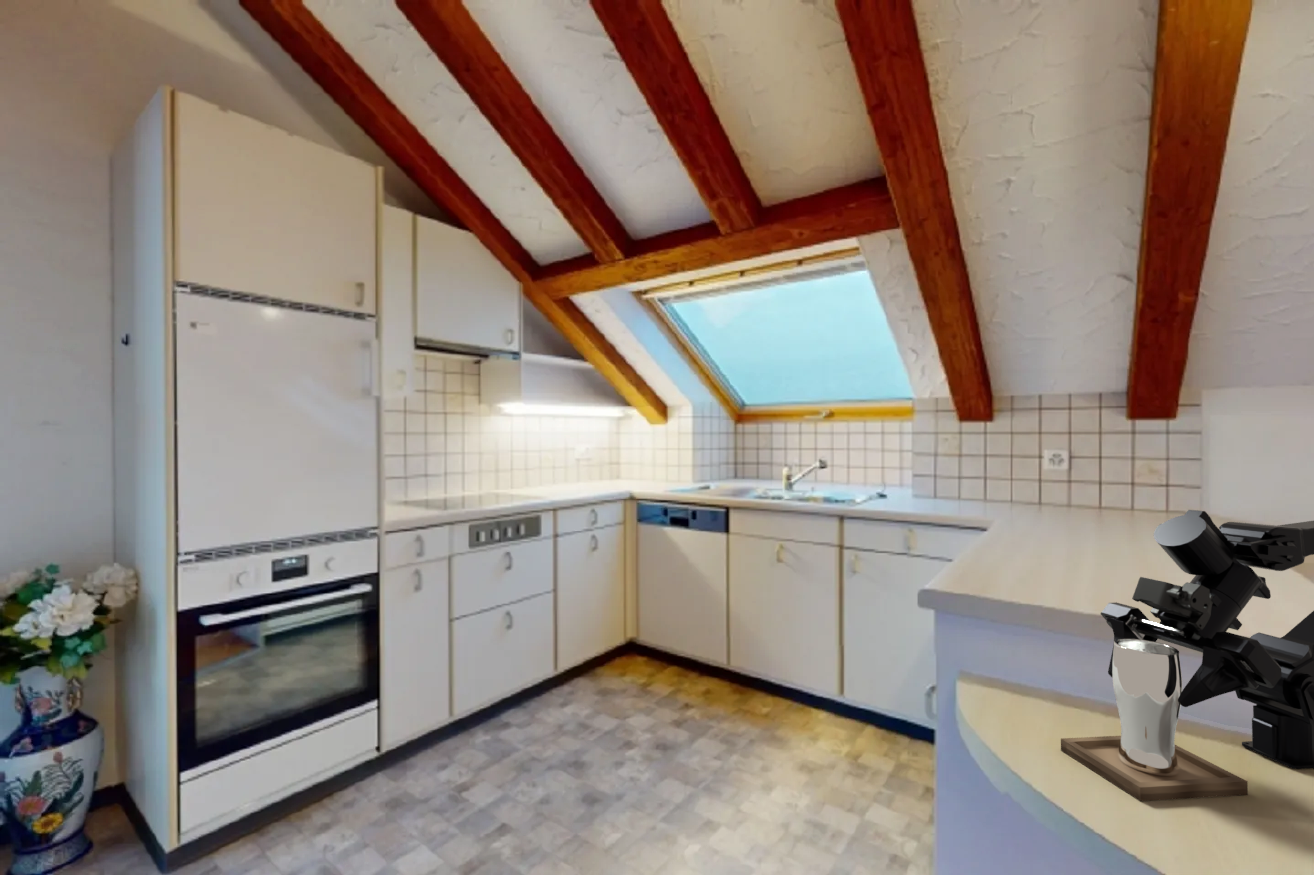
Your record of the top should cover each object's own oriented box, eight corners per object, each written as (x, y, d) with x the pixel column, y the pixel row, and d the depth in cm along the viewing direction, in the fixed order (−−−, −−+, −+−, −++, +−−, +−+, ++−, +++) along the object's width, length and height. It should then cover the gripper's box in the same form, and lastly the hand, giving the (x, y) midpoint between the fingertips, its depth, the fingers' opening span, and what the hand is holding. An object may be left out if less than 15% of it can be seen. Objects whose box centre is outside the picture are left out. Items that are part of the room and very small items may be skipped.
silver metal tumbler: (1198, 775, 74) (1196, 653, 74) (1154, 781, 72) (1152, 656, 73) (1141, 748, 81) (1139, 636, 81) (1100, 753, 79) (1098, 639, 79)
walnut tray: (1154, 745, 83) (1154, 733, 83) (1247, 794, 71) (1247, 781, 71) (1060, 750, 82) (1060, 738, 82) (1140, 801, 70) (1140, 787, 70)
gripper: (1110, 545, 87) (1045, 626, 85) (1259, 570, 69) (1181, 674, 66) (1157, 597, 88) (1094, 678, 86) (1315, 636, 70) (1240, 739, 68)
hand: (1144, 689), depth 77 cm, fingers open, 9 cm apart
